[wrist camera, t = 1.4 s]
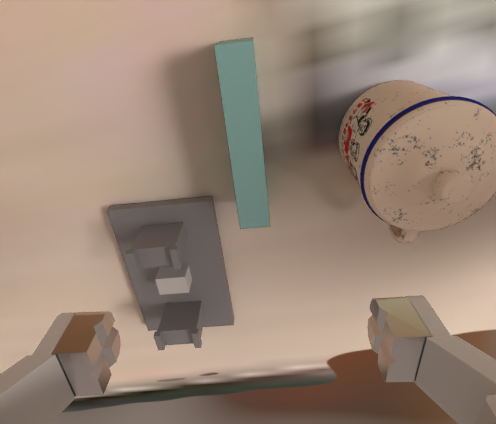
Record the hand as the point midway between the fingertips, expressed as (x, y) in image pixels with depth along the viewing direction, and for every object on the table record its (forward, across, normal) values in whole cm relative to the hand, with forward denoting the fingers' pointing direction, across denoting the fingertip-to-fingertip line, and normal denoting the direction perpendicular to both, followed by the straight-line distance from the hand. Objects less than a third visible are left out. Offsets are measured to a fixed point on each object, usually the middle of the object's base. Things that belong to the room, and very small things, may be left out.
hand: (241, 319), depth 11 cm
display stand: (+22, +8, +14) cm, 27 cm away
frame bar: (+22, 0, 0) cm, 22 cm away
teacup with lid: (+22, -12, +2) cm, 25 cm away
